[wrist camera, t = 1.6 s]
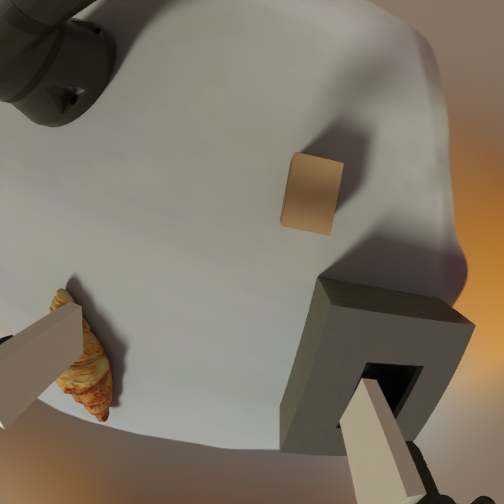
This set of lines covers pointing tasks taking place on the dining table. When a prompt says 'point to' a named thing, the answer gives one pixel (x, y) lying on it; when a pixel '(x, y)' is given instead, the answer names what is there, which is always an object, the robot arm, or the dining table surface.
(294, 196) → the brown block
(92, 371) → the croissant
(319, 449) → the box
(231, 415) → the dining table surface
